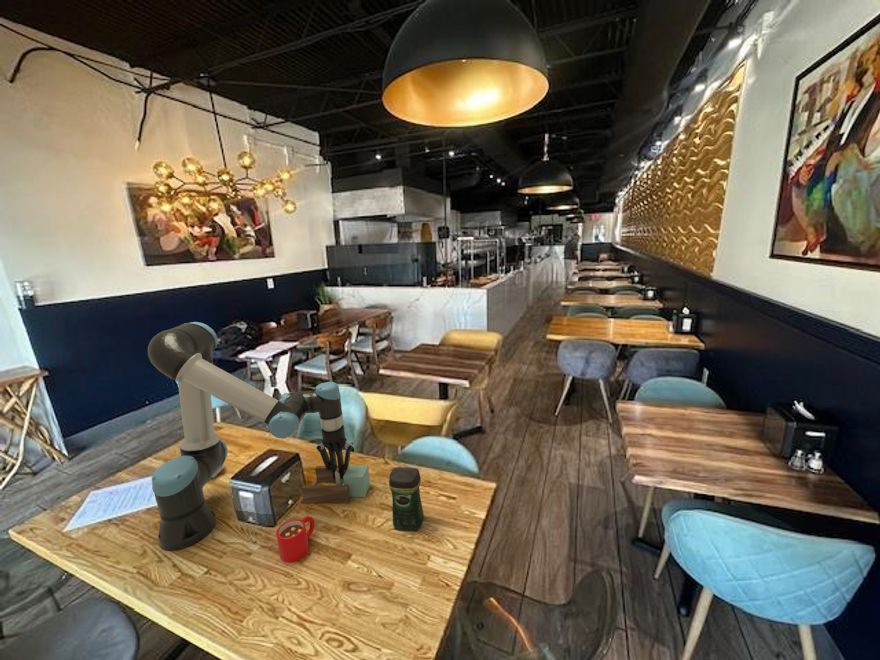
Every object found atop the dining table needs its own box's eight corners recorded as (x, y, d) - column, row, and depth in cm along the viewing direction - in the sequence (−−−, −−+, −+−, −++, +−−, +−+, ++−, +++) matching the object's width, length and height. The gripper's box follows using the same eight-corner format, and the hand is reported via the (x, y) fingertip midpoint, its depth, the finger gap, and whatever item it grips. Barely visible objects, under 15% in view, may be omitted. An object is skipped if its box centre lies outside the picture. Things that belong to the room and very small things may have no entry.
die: (231, 472, 150) (225, 448, 153) (216, 474, 141) (210, 449, 144) (212, 481, 149) (206, 457, 152) (195, 483, 141) (190, 458, 144)
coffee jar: (425, 514, 120) (422, 463, 115) (420, 533, 112) (416, 479, 108) (397, 512, 121) (392, 462, 117) (389, 530, 114) (385, 477, 110)
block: (364, 497, 129) (362, 477, 127) (345, 497, 130) (343, 477, 128) (370, 484, 136) (368, 465, 134) (351, 484, 137) (349, 465, 135)
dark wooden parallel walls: (348, 503, 127) (347, 488, 125) (300, 503, 128) (298, 488, 127) (359, 479, 139) (358, 465, 138) (315, 479, 141) (313, 465, 139)
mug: (324, 535, 113) (321, 513, 111) (294, 566, 102) (290, 542, 101) (305, 528, 116) (302, 506, 115) (274, 557, 106) (269, 534, 104)
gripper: (354, 421, 131) (360, 479, 136) (318, 421, 132) (326, 479, 137) (347, 431, 124) (354, 492, 129) (309, 432, 125) (318, 492, 130)
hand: (340, 486), depth 133 cm, fingers closed
